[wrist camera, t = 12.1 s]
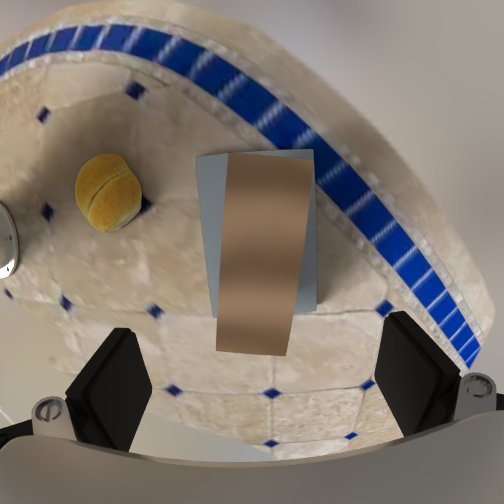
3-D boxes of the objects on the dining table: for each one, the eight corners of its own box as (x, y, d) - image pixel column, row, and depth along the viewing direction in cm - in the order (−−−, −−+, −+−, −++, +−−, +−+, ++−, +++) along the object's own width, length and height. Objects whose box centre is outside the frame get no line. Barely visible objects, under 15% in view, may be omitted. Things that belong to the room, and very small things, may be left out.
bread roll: (113, 141, 28) (97, 138, 25) (155, 198, 30) (142, 201, 27) (71, 187, 30) (53, 190, 26) (109, 241, 32) (93, 250, 28)
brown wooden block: (232, 155, 23) (228, 152, 19) (304, 163, 23) (313, 161, 19) (220, 327, 27) (215, 350, 23) (281, 332, 27) (285, 356, 23)
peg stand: (214, 311, 34) (206, 341, 27) (198, 157, 29) (183, 153, 23) (313, 305, 33) (325, 333, 27) (310, 150, 29) (325, 144, 22)
